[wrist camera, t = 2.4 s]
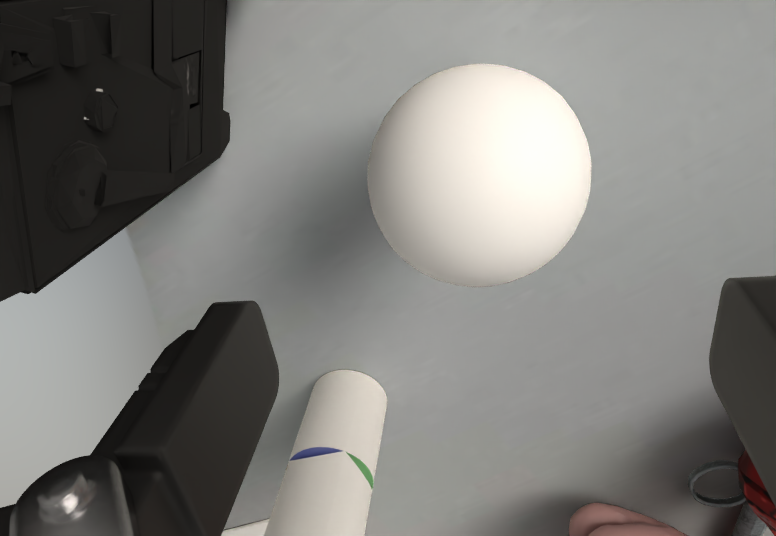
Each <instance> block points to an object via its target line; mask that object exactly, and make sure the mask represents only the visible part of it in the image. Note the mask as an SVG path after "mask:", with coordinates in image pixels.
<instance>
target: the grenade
mask: <svg viewBox="0 0 776 536" xmlns="http://www.w3.org/2000/svg"><path fill="white" fill-rule="evenodd" d="M738 475H739V487H740V489H741V491H742V493H743V495H744V497H745V499H746V500H747V502H748V504H749V505H750V507H751V508H752V510H753V511H754V513H755V514H756V515H757V516H758V517H759V518H760V519H761V520H762V521H763V522H764V523H765V524H766V525H767V526H768V527H769V529H770V530H771V531H772V533H773V534H774V536H776V507H775V505H774V503H773V501H772V499H771V497H770V495H769V493H768V491H767V490H766V488H765V486H764V484H763V482H762V480H761V478H760V476H759V474H758V472H757V470H756V468H755V466H754V464H753V462H752V461H751V459H750V457H749V455H748V453H747V451H746V449H745V451H744V452H743V454H742V455H741V456H740V458H739V459H738Z"/></svg>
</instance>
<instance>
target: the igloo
mask: <svg viewBox="0 0 776 536" xmlns="http://www.w3.org/2000/svg"><path fill="white" fill-rule="evenodd" d="M268 522H269V519H266V520H262V521H259V522H255V523H251V524H247V525H243V526H239V527H236V528H232V529H228V530H224V531H223V532H222V534H221V536H264V534H265V531H266V528H267V525H268Z"/></svg>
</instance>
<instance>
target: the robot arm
mask: <svg viewBox="0 0 776 536" xmlns="http://www.w3.org/2000/svg"><path fill="white" fill-rule="evenodd" d="M709 365H710V374H711V379H712V383H713V386H714V388H715V391H716V393H717V395H718V397H719V399H720V401H721V403H722V404H723V406H724V408H725V410H726V412H727V414H728V416H729V418H730V420H731V422H732V424H733V426H734V428H735V430H736V432H737V433H738V435H739V437H740V439H741V441H742V443H743V445H744V447H745V449H746V451H747V453H748V455H749V457H750V459H751V461H752V462H753V464H754V466H755V468H756V470H757V472H758V474H759V476H760V478H761V480H762V482H763V484H764V486H765V488H766V490H767V491H768V493H769V495H770V497H771V499H772V501H773V503H774V505H775V507H776V276H765V277H745V278H729V279H727V280H726V281H725V283H724V285H723V287H722V291H721V296H720V301H719V306H718V311H717V317H716V322H715V327H714V333H713V338H712V343H711V348H710V355H709ZM278 387H279V370H278V364H277V361H276V357H275V354H274V351H273V348H272V345H271V341H270V338H269V335H268V332H267V328H266V325H265V322H264V319H263V315H262V312H261V309H260V307H259V305H258V304H257V303H256V302H255V301H233V302H215V303H213V304H212V305H211V306H210V307H209V308H208V310H207V311H206V313H205V314H204V316H203V317H202V319H201V320H200V322H199V323H198V325H197V326H196V328H195V329H194V330H187V331H186V332H185V333H183V334H182V335H181V336H180V337H178V338H177V339H176V340H175V341H173V342H172V343H171V344H170V345H168V346H167V347H166V348H165V349H164V350H163V352H162V353H161V355H160V356H159V358H158V359H157V360H156V362H155V363H154V365H153V366H152V368H151V373H147V375H146V376H145V378H144V379H143V380H142V382H141V384H140V385H139V390H138V391H135V392H134V393H133V395H132V396H131V398H130V399H129V400H128V402H127V403H126V405H125V406H124V408H123V409H122V411H121V412H120V414H119V415H118V416H117V418H116V419H115V420H114V422H113V423H112V425H111V426H110V428H109V429H108V431H107V432H106V433H105V435H104V436H103V438H102V439H101V440H100V442H99V443H98V445H97V446H96V448H95V449H94V450H93V452H92V453H91V455H89V456H83V457H79V458H75V459H72V460H69V461H67V462H64V463H62V464H60V465H58V466H56V467H54V468H53V469H51V470H49V471H48V472H46V473H45V474H44V475H42V476H41V477H39V478H38V479H37V480H36V481H35V482H34V483H32V484H31V485H30V486H29V487H28V489H27V490H26V491H25V492H24V493H23V494H22V496H21V497H20V498H19V500H18V501H17V503H16V504H14V505H10V506H6V507H2V508H0V536H221V534H222V532H223V529H224V527H225V524H226V522H227V519H228V517H229V514H230V512H231V509H232V507H233V504H234V502H235V499H236V497H237V494H238V492H239V489H240V487H241V484H242V482H243V479H244V477H245V474H246V472H247V469H248V467H249V464H250V462H251V459H252V457H253V454H254V452H255V449H256V447H257V444H258V442H259V439H260V437H261V434H262V432H263V429H264V427H265V424H266V422H267V419H268V417H269V414H270V412H271V409H272V407H273V404H274V402H275V399H276V396H277V392H278Z"/></svg>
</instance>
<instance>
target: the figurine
mask: <svg viewBox="0 0 776 536" xmlns="http://www.w3.org/2000/svg"><path fill="white" fill-rule="evenodd" d="M569 536H688V535H686V534H684V533H682V532H680V531H678V530H676V529H675V528H673V527H671V526H669V525H667V524H665V523H663V522H660V521H657V520H655V519H652V518H650V517H648V516H645V515H641V514H639V513H636V512H633V511H630V510H627V509H624V508H621V507H619V506H615V505H608V504H602V503H591V504H588V505H585V506H583V507H581V508H580V509H578V510H577V511H576V512H575V513H574V514H573V516H572V517H571V519H570V525H569Z"/></svg>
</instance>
